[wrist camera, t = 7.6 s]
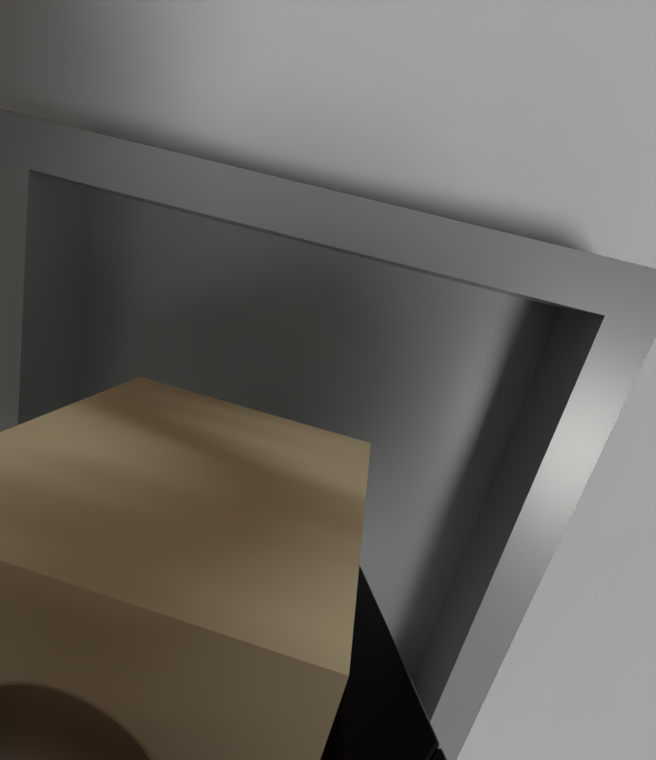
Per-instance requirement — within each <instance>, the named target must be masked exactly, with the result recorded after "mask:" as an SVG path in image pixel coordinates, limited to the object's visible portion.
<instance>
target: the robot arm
mask: <svg viewBox="0 0 656 760" xmlns="http://www.w3.org/2000/svg"><path fill="white" fill-rule="evenodd" d="M320 760H447V758H446V756H445V754H444V752H443V750H442V749H441V748H439V741H438V739H437V736H436V734H435V732H434V730H433V727H432V725H431V723H430V721H429V718H428V716H427V714H426V712H425V709H424V707H423V705H422V703H421V700H420V698H419V696H418V694H417V691H416V689H415V687H414V685H413V682H412V680H411V678H410V676H409V674H408V671H407V669H406V667H405V665H404V662H403V660H402V658H401V656H400V653H399V651H398V649H397V647H396V644H395V642H394V640H393V638H392V635H391V633H390V631H389V629H388V626H387V624H386V622H385V620H384V617H383V615H382V613H381V611H380V608H379V606H378V604H377V602H376V599H375V597H374V595H373V593H372V590H371V588H370V586H369V584H368V582H367V579H366V577H365V575H364V573H363V570H362V568H361V567H360V566H359V574H358V585H357V596H356V606H355V617H354V628H353V639H352V649H351V660H350V671H349V677H348V680H347V683H346V686H345V689H344V692H343V695H342V698H341V701H340V704H339V707H338V709H337V712H336V715H335V718H334V721H333V724H332V727H331V730H330V733H329V736H328V739H327V741H326V744H325V747H324V750H323V753H322V756H321V759H320Z"/></svg>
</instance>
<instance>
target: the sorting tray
mask: <svg viewBox="0 0 656 760" xmlns="http://www.w3.org/2000/svg"><path fill="white" fill-rule="evenodd" d="M655 337H656V269H654V268H650V267H646V266H642V265H638V264H634V263H629V262H625V261H621V260H617V259H613V258H609V257H605V256H601V255H597V254H592V253H588V252H584V251H580V250H576V249H572V248H568V247H564V246H560V245H555V244H551V243H547V242H543V241H539V240H535V239H531V238H527V237H523V236H518V235H514V234H510V233H506V232H502V231H498V230H494V229H490V228H486V227H481V226H477V225H473V224H469V223H465V222H461V221H457V220H453V219H449V218H444V217H440V216H436V215H432V214H428V213H424V212H420V211H416V210H412V209H407V208H403V207H399V206H395V205H391V204H387V203H383V202H379V201H375V200H370V199H366V198H362V197H358V196H354V195H350V194H346V193H342V192H338V191H333V190H329V189H325V188H321V187H317V186H313V185H309V184H305V183H301V182H297V181H292V180H288V179H284V178H280V177H276V176H272V175H268V174H264V173H260V172H255V171H251V170H247V169H243V168H239V167H235V166H231V165H227V164H223V163H218V162H214V161H210V160H206V159H202V158H198V157H194V156H190V155H186V154H181V153H177V152H173V151H169V150H165V149H161V148H157V147H153V146H149V145H144V144H140V143H136V142H132V141H128V140H124V139H120V138H116V137H112V136H107V135H103V134H99V133H95V132H91V131H87V130H83V129H79V128H75V127H70V126H66V125H62V124H58V123H54V122H50V121H46V120H42V119H38V118H33V117H29V116H25V115H21V114H17V113H13V112H9V111H5V110H1V109H0V432H2V431H5V430H7V429H10V428H12V427H15V426H17V425H20V424H22V423H25V422H27V421H30V420H32V419H35V418H37V417H40V416H42V415H45V414H47V413H50V412H52V411H55V410H58V409H60V408H63V407H65V406H68V405H70V404H73V403H75V402H78V401H80V400H83V399H85V398H88V397H90V396H93V395H95V394H98V393H100V392H103V391H105V390H108V389H110V388H113V387H115V386H118V385H120V384H123V383H126V382H128V381H131V380H133V379H136V378H138V377H143V378H146V379H150V380H153V381H156V382H160V383H163V384H167V385H170V386H174V387H177V388H181V389H184V390H188V391H191V392H195V393H198V394H202V395H205V396H209V397H212V398H216V399H219V400H223V401H226V402H229V403H233V404H236V405H240V406H243V407H247V408H250V409H254V410H257V411H261V412H264V413H268V414H271V415H275V416H278V417H282V418H285V419H289V420H292V421H296V422H299V423H302V424H306V425H309V426H313V427H316V428H320V429H323V430H327V431H330V432H334V433H337V434H341V435H344V436H348V437H351V438H355V439H358V440H362V441H365V442H368V443H371V446H370V457H369V467H368V478H367V489H366V499H365V510H364V521H363V532H362V542H361V553H360V564H359V566H360V567H361V568H362V570H363V573H364V575H365V577H366V579H367V582H368V584H369V586H370V588H371V590H372V593H373V595H374V597H375V599H376V602H377V604H378V606H379V608H380V611H381V613H382V615H383V617H384V620H385V622H386V624H387V626H388V629H389V631H390V633H391V635H392V638H393V640H394V642H395V644H396V647H397V649H398V651H399V653H400V656H401V658H402V660H403V662H404V665H405V667H406V669H407V671H408V674H409V676H410V678H411V680H412V682H413V685H414V687H415V689H416V691H417V694H418V696H419V698H420V700H421V703H422V705H423V707H424V709H425V712H426V714H427V716H428V718H429V721H430V723H431V725H432V727H433V730H434V732H435V734H436V736H437V739H438V741H439V748H441V749H442V750H443V752H444V754H445V756H446V758H447V760H456V759H457V757H458V755H459V753H460V751H461V749H462V747H463V745H464V742H465V740H466V738H467V736H468V734H469V732H470V730H471V728H472V725H473V723H474V721H475V719H476V717H477V715H478V713H479V711H480V708H481V706H482V704H483V702H484V700H485V698H486V696H487V694H488V691H489V689H490V687H491V685H492V683H493V681H494V679H495V677H496V674H497V672H498V670H499V668H500V666H501V664H502V662H503V660H504V657H505V655H506V653H507V651H508V649H509V647H510V645H511V643H512V640H513V638H514V636H515V634H516V632H517V630H518V628H519V626H520V623H521V621H522V619H523V617H524V615H525V613H526V611H527V609H528V607H529V604H530V602H531V600H532V598H533V596H534V594H535V592H536V590H537V587H538V585H539V583H540V581H541V579H542V577H543V575H544V573H545V570H546V568H547V566H548V564H549V562H550V560H551V558H552V556H553V553H554V551H555V549H556V547H557V545H558V543H559V541H560V539H561V536H562V534H563V532H564V530H565V528H566V526H567V524H568V522H569V519H570V517H571V515H572V513H573V511H574V509H575V507H576V505H577V502H578V500H579V498H580V496H581V494H582V492H583V490H584V488H585V485H586V483H587V481H588V479H589V477H590V475H591V473H592V471H593V468H594V466H595V464H596V462H597V460H598V458H599V456H600V454H601V451H602V449H603V447H604V445H605V443H606V441H607V439H608V437H609V434H610V432H611V430H612V428H613V426H614V424H615V422H616V420H617V417H618V415H619V413H620V411H621V409H622V407H623V405H624V403H625V400H626V398H627V396H628V394H629V392H630V390H631V388H632V386H633V383H634V381H635V379H636V377H637V375H638V373H639V371H640V369H641V366H642V364H643V362H644V360H645V358H646V356H647V354H648V352H649V349H650V347H651V345H652V343H653V341H654V339H655Z"/></svg>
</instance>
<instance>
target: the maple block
mask: <svg viewBox="0 0 656 760" xmlns="http://www.w3.org/2000/svg"><path fill="white" fill-rule="evenodd" d="M370 446H371V443H368V442H365V441H362V440H358V439H355V438H351V437H348V436H344V435H341V434H337V433H334V432H330V431H327V430H323V429H320V428H316V427H313V426H309V425H306V424H302V423H299V422H296V421H292V420H289V419H285V418H282V417H278V416H275V415H271V414H268V413H264V412H261V411H257V410H254V409H250V408H247V407H243V406H240V405H236V404H233V403H229V402H226V401H223V400H219V399H216V398H212V397H209V396H205V395H202V394H198V393H195V392H191V391H188V390H184V389H181V388H177V387H174V386H170V385H167V384H163V383H160V382H156V381H153V380H150V379H146V378H143V377H138V378H136V379H133V380H131V381H128V382H126V383H123V384H120V385H118V386H115V387H113V388H110V389H108V390H105V391H103V392H100V393H98V394H95V395H93V396H90V397H88V398H85V399H83V400H80V401H78V402H75V403H73V404H70V405H68V406H65V407H63V408H60V409H58V410H55V411H52V412H50V413H47V414H45V415H42V416H40V417H37V418H35V419H32V420H30V421H27V422H25V423H22V424H20V425H17V426H15V427H12V428H10V429H7V430H5V431H2V432H0V760H320V759H321V756H322V753H323V750H324V747H325V744H326V741H327V739H328V736H329V733H330V730H331V727H332V724H333V721H334V718H335V715H336V712H337V709H338V707H339V704H340V701H341V698H342V695H343V692H344V689H345V686H346V683H347V680H348V677H349V671H350V660H351V649H352V639H353V628H354V617H355V606H356V596H357V585H358V574H359V564H360V553H361V542H362V532H363V521H364V510H365V499H366V489H367V478H368V467H369V457H370Z"/></svg>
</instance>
